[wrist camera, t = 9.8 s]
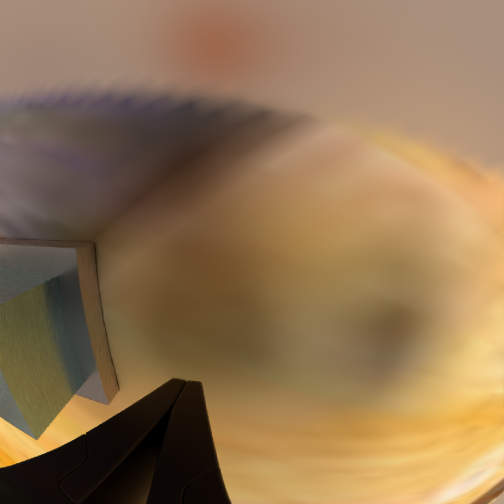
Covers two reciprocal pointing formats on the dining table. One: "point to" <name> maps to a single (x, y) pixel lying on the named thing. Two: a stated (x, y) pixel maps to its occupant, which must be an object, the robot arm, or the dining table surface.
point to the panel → (72, 304)
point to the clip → (34, 351)
